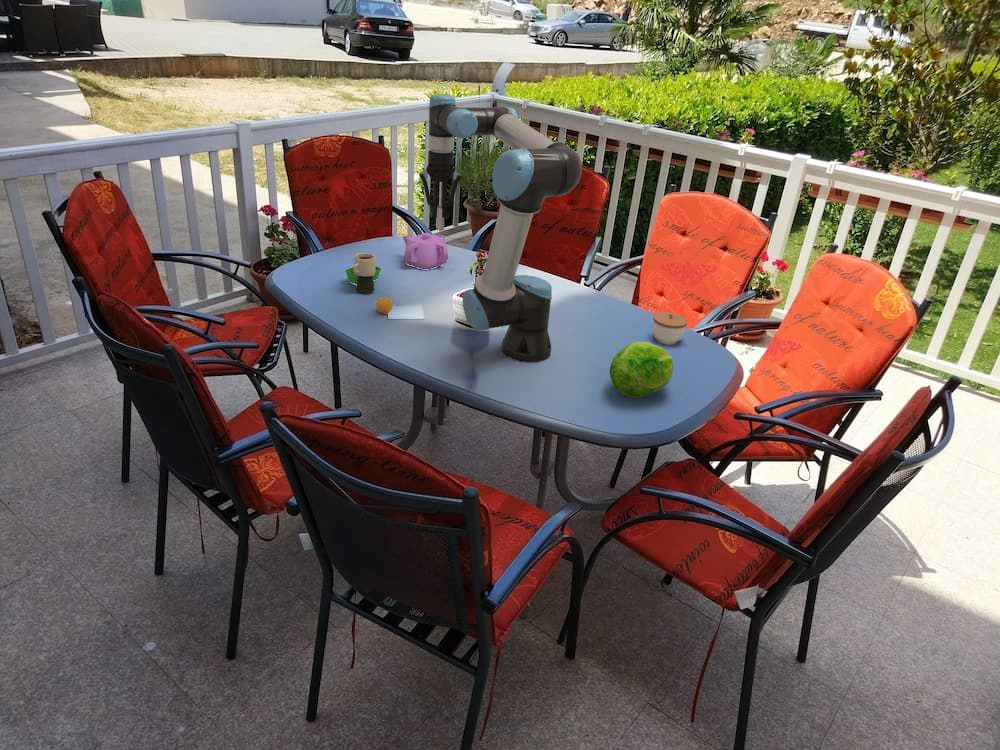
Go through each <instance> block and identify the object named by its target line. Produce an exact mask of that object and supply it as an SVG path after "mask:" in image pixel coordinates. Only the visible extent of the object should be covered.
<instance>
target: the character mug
mask: <svg viewBox="0 0 1000 750" xmlns="http://www.w3.org/2000/svg"><path fill="white" fill-rule="evenodd" d="M353 260H354V261H353V265H352V268H353V271H354V274H357V275H359V276H358V278H357V286H356V288H355V290H356V291H357V292H358V293H362V292H363V294H365V293H366V294H370V293H373V291H374V292H375V284H374V283H375V282H374V281H373V277H372V276H373V275H374V274H375V271H376V270H375V266H376V267H377V258H376V255H374V254H373V253H369V252H359V253H356V254H355V255H354V259H353Z"/></svg>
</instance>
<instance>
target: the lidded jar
mask: <svg viewBox="0 0 1000 750" xmlns="http://www.w3.org/2000/svg"><path fill="white" fill-rule="evenodd" d="M687 325H688V319H687V318H686V317H684V316H683V315H680V314H678V313H673V312H669V311H667V312H666V311H664V312H657V313H655V314H654V315H653V318H652V333H653V336H654V337H655V338H656V340H657V342H659V343H660V344H663V345H671V346H672V345H674V344H676V343H677V342H679V341H680V340H681V339H682V338H683V336H684V334H685V332H686V328H687Z"/></svg>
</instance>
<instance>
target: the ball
mask: <svg viewBox="0 0 1000 750" xmlns="http://www.w3.org/2000/svg"><path fill="white" fill-rule="evenodd" d="M393 305H394V304H393V301H392V300H391V298H390V297H388V296H381V297H379V298H378V299H377V300H376V302H375V308H376V310H377V312H378V313H380V314H383V315H384V314H386V315H387V313H389V312H390V311H391V310H392V307H393Z"/></svg>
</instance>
